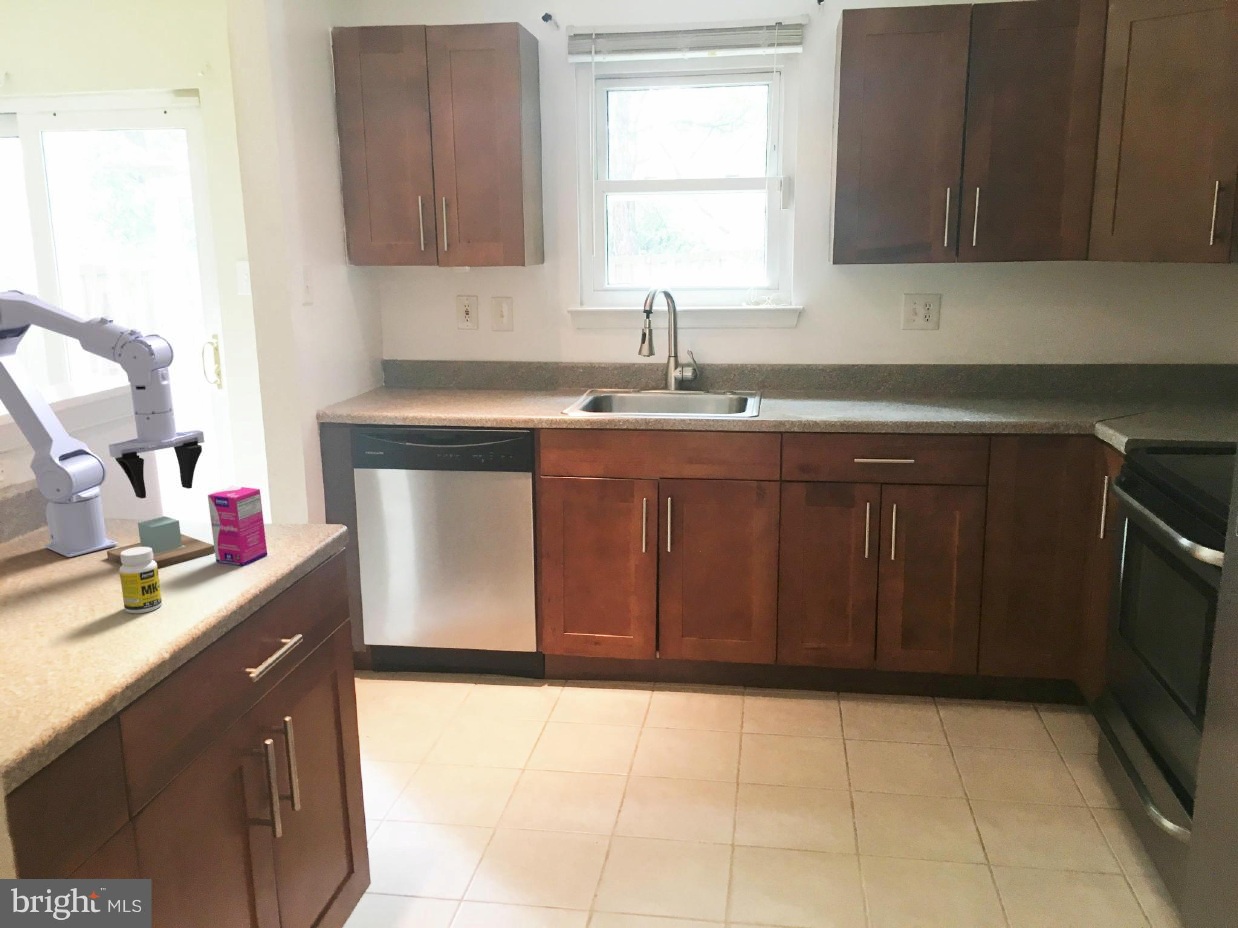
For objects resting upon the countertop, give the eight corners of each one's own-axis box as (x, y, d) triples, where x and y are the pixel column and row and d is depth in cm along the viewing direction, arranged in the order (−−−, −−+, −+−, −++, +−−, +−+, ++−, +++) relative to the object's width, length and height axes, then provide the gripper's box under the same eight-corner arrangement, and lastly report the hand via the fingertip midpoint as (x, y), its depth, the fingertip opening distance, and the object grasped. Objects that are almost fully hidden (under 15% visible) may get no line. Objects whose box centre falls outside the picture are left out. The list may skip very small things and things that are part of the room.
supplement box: (214, 563, 151) (205, 493, 148) (241, 551, 156) (233, 485, 153) (242, 567, 148) (234, 497, 146) (269, 555, 154) (261, 487, 151)
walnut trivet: (107, 557, 154) (106, 550, 154) (179, 539, 163) (178, 532, 163) (142, 572, 147) (141, 564, 146) (215, 552, 156) (214, 544, 155)
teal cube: (141, 548, 154) (137, 522, 153) (168, 541, 157) (164, 516, 156) (155, 553, 151) (151, 527, 150) (182, 546, 155) (178, 520, 154)
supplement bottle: (147, 615, 129) (138, 557, 127) (117, 613, 130) (108, 555, 128) (169, 602, 134) (162, 546, 132) (140, 600, 135) (132, 544, 133)
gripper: (118, 420, 144) (130, 505, 148) (209, 407, 155) (218, 486, 158) (98, 416, 149) (110, 498, 152) (188, 403, 160) (197, 480, 163)
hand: (164, 492), depth 156 cm, fingers open, 7 cm apart
